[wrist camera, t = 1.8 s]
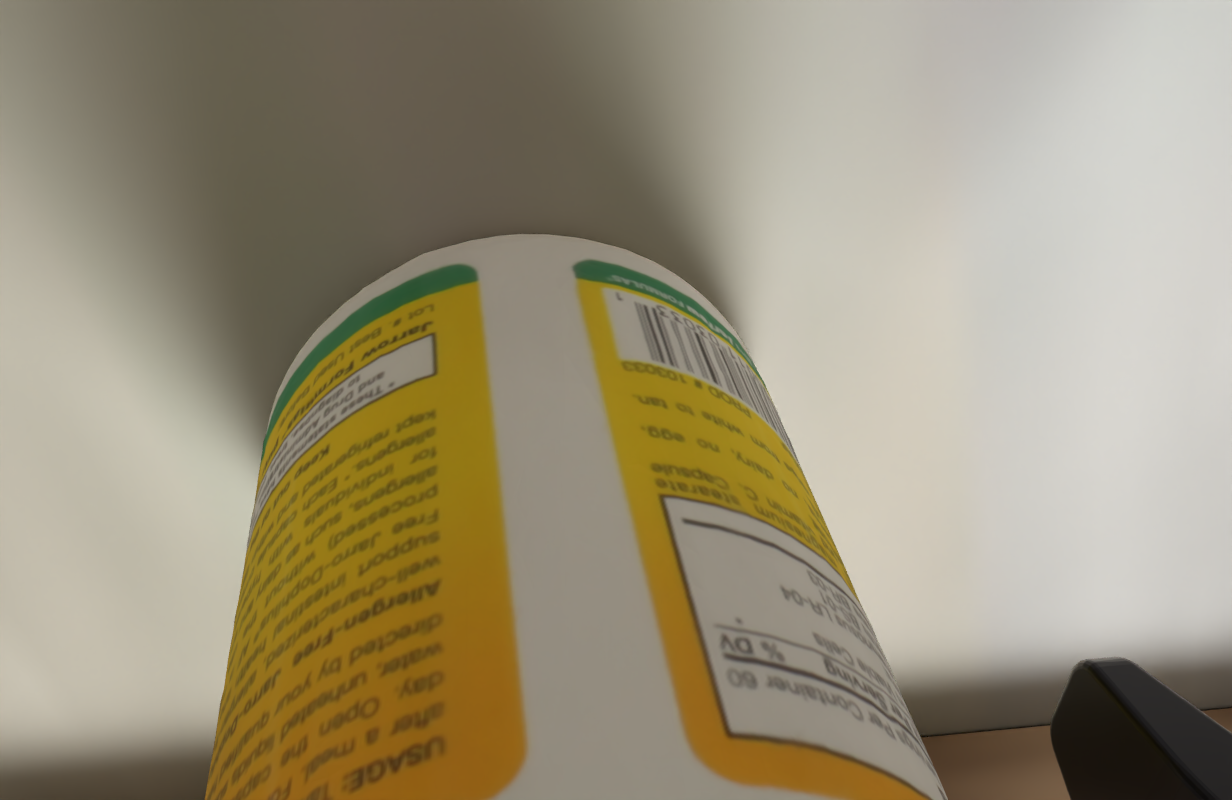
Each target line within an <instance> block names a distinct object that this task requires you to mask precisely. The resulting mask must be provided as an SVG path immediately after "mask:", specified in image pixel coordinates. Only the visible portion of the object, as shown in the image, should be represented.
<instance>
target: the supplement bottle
mask: <svg viewBox="0 0 1232 800" xmlns="http://www.w3.org/2000/svg"><path fill="white" fill-rule="evenodd" d="M205 800H948V798H947V796H946V794H945V791H944V789H943V787H942V784H941V782H940V780H939V777H938V775H937V773H936V771H935V768H934V766H933V764H932V762H931V759H930V757H929V755H928V753H927V751H926V748H925V746H924V744H923V742H922V740H921V737H920V735H919V733H918V731H917V728H916V726H915V724H914V722H913V720H912V717H911V715H910V713H909V711H908V708H907V706H906V704H905V702H904V700H903V697H902V695H901V692H900V690H899V688H898V685H897V683H896V680H895V678H894V676H893V673H892V671H891V668H890V666H889V664H888V662H887V659H886V657H885V655H884V653H883V651H882V649H881V647H880V645H879V643H878V641H877V638H876V636H875V633H874V631H873V628H872V626H871V624H870V622H869V620H868V618H867V616H866V614H865V612H864V610H863V608H862V606H861V604H860V602H859V600H858V597H857V595H856V593H855V590H854V588H853V585H852V583H851V581H850V578H849V576H848V574H847V571H846V569H845V567H844V564H843V562H842V560H841V557H840V555H839V553H838V551H837V548H836V546H835V544H834V542H833V539H832V537H831V535H830V533H829V530H828V528H827V526H826V524H825V521H824V519H823V516H822V514H821V512H820V510H819V507H818V505H817V503H816V501H815V498H814V496H813V494H812V492H811V489H810V487H809V485H808V483H807V480H806V478H805V476H804V474H803V471H802V469H801V467H800V464H799V462H798V459H797V457H796V454H795V452H794V449H793V447H792V444H791V442H790V440H789V438H788V436H787V434H786V431H785V429H784V427H783V425H782V422H781V420H780V417H779V415H778V412H777V410H776V408H775V406H774V404H773V401H772V399H771V397H770V395H769V393H768V391H767V388H766V386H765V384H764V382H763V380H762V378H761V376H760V375H759V373H758V371H757V369H756V367H755V365H754V363H753V361H752V358H751V356H750V354H749V352H748V350H747V349H746V347H745V345H744V344H743V342H742V341H741V339H740V337H739V336H738V334H737V333H736V331H735V330H734V329H733V327H732V326H731V325H730V324H729V323H728V321H727V320H726V319H725V318H724V317H723V316H722V314H721V313H720V312H719V311H718V310H717V309H716V308H715V307H714V306H713V305H712V304H711V303H710V302H709V301H708V300H707V299H706V298H705V297H704V296H703V295H702V294H701V293H699V292H698V291H697V290H696V289H695V288H693V287H692V286H691V285H690V284H689V283H687V282H686V281H684V280H683V279H682V278H680V277H679V276H677V275H676V274H675V273H673V272H671V271H669V270H668V269H666V268H664V267H662V266H661V265H659V264H657V263H656V262H654V261H652V260H649V259H647V258H645V257H642V256H640V255H638V254H635V253H633V252H631V251H628V250H626V249H623V248H619V247H616V246H612V245H608V244H604V243H600V242H597V241H592V240H587V239H582V238H577V237H569V236H559V235H549V234H513V235H501V236H494V237H488V238H482V239H476V240H470V241H466V242H463V243H459V244H455V245H451V246H448V247H444V248H441V249H437V250H434V251H430V252H427V253H424V254H421V255H419V256H417V257H416V258H414V259H412V260H410V261H408V262H406V263H405V264H403V265H401V266H400V267H398V268H396V269H394V270H392V271H390V272H389V273H387V274H385V275H384V276H382V277H381V278H379V279H378V280H376V281H375V282H373V283H371V284H369V285H368V286H366V287H364V288H363V289H362V290H361V291H360V292H359V293H357V294H356V295H355V296H353V297H352V298H351V299H349V300H348V301H347V302H345V303H344V304H343V305H342V306H341V307H340V308H339V309H338V310H336V311H335V312H334V313H333V314H332V315H331V316H330V317H329V318H328V319H327V320H326V321H325V322H324V323H323V324H322V325H321V326H320V327H319V328H318V329H317V330H316V331H315V332H314V333H313V334H312V336H311V337H310V338H309V340H308V341H307V342H306V343H305V345H304V346H303V347H302V349H301V350H300V351H299V353H298V354H297V356H296V358H295V359H294V361H293V363H292V364H291V366H290V367H289V369H288V371H287V373H286V375H285V377H284V379H283V381H282V384H281V386H280V388H279V390H278V392H277V394H276V398H275V401H274V404H273V407H272V410H271V414H270V418H269V422H268V427H267V432H266V437H265V439H264V443H263V452H262V458H261V464H260V470H259V477H258V484H257V491H256V498H255V504H254V509H253V514H252V519H251V525H250V531H249V537H248V543H247V551H246V558H245V565H244V572H243V578H242V584H241V590H240V595H239V601H238V606H237V611H236V616H235V622H234V630H233V636H232V641H231V647H230V652H229V658H228V665H227V672H226V679H225V686H224V691H223V695H222V699H221V703H220V710H219V717H218V724H217V731H216V737H215V743H214V749H213V754H212V760H211V765H210V771H209V777H208V783H207V789H206V795H205Z"/></svg>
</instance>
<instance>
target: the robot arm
mask: <svg viewBox="0 0 1232 800" xmlns="http://www.w3.org/2000/svg"><path fill="white" fill-rule="evenodd" d="M1050 736H1051V742H1052V746H1053V750H1054V753H1055V756H1056V759H1057V762H1058V765H1059V767H1060V770H1061V773H1062V776H1063V779H1064V782H1065V785H1066V788H1067V791H1068V794H1069V796H1070V799H1071V800H1232V733H1231V732H1230V731H1228V730H1227V729H1226V728H1224V727H1223V726H1221V725H1220V724H1219V723H1217V722H1216V721H1214V720H1213V719H1212V718H1210V717H1209V716H1207V715H1206V714H1205V713H1203V712H1202V711H1201V710H1199V709H1198V708H1196V707H1195V706H1194V705H1192V704H1191V703H1189V702H1188V701H1187V700H1185V699H1184V698H1182V697H1181V696H1180V695H1178V694H1177V693H1175V692H1174V691H1173V690H1171V689H1170V688H1168V687H1167V686H1166V685H1164V684H1163V683H1161V682H1160V681H1159V680H1157V679H1156V678H1155V677H1153V676H1152V675H1150V674H1149V673H1148V672H1146V671H1145V670H1143V669H1142V668H1141V667H1139V666H1138V665H1136V664H1135V663H1133V662H1131V661H1130V660H1127V659H1125V658H1121V657H1109V658H1098V659H1086V660H1082V661H1080V662H1079V663H1078V664H1076V665H1075V666H1074V668H1073V669H1072V671H1071V674H1070V676H1069V678H1068V681H1067V683H1066V685H1065V688H1064V690H1063V692H1062V695H1061V697H1060V699H1059V702H1058V704H1057V706H1056V709H1055V711H1054V713H1053V716H1052V719H1051V726H1050Z"/></svg>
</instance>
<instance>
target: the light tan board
mask: <svg viewBox="0 0 1232 800" xmlns="http://www.w3.org/2000/svg"><path fill="white" fill-rule="evenodd" d="M1202 712H1203V713H1205V714H1206V715H1207V716H1209V717H1210V718H1212V719H1213V720H1214V721H1216V722H1217V723H1219V724H1220V725H1221V726H1223V727H1224V728H1226V729H1227V730H1228V731H1230V732H1231V733H1232V708H1227V709H1217V710H1206V711H1202ZM1050 726H1051V725H1049V726H1038V727H1028V728H1017V729H1007V730H996V731H986V732H975V733H965V734H954V735H944V736H933V737H923V738H921V740H922V742H923V744H924V746H925V748H926V751H927V753H928V755H929V757H930V759H931V762H932V764H933V766H934V768H935V771H936V773H937V775H938V777H939V780H940V782H941V784H942V787H943V789H944V791H945V794H946V796H947V798H948V800H1071V799H1070V796H1069V794H1068V791H1067V788H1066V785H1065V782H1064V779H1063V776H1062V773H1061V770H1060V767H1059V765H1058V762H1057V759H1056V756H1055V753H1054V750H1053V746H1052V742H1051V736H1050Z"/></svg>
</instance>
